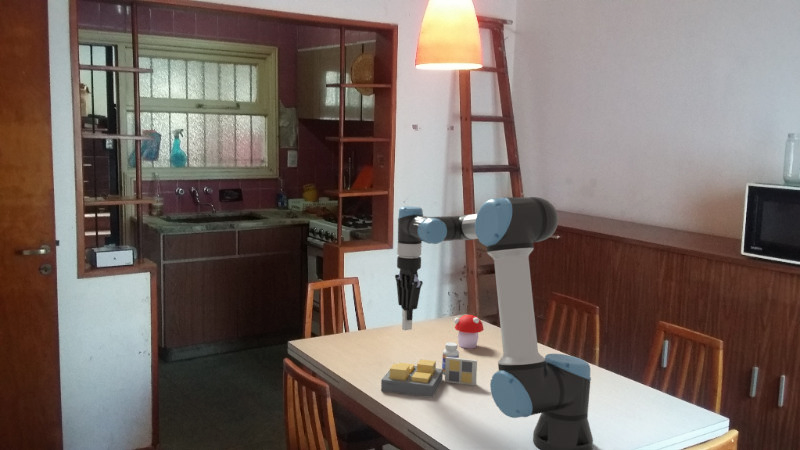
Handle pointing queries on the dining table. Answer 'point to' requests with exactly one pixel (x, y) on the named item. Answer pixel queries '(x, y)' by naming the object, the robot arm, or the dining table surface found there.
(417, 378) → the button
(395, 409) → the dining table surface
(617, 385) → the dining table surface
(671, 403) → the dining table surface
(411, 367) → the button
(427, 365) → the button
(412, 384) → the board
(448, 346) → the pill bottle
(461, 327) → the mushroom
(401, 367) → the button
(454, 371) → the plaque
